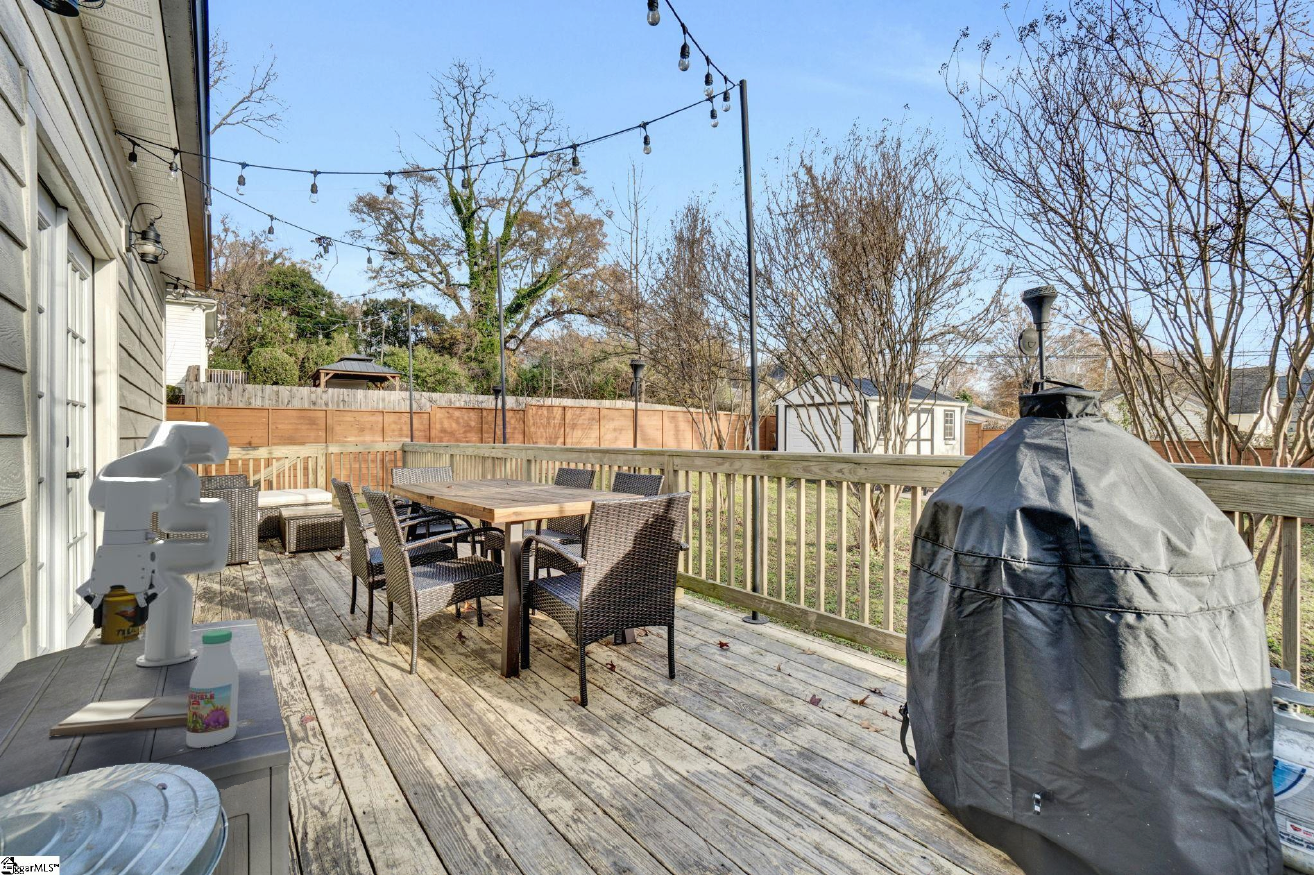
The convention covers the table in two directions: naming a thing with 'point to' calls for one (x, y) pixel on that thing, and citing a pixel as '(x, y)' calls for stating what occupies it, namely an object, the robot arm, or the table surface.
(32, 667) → the table surface
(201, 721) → the milk bottle
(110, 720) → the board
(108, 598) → the condiment
